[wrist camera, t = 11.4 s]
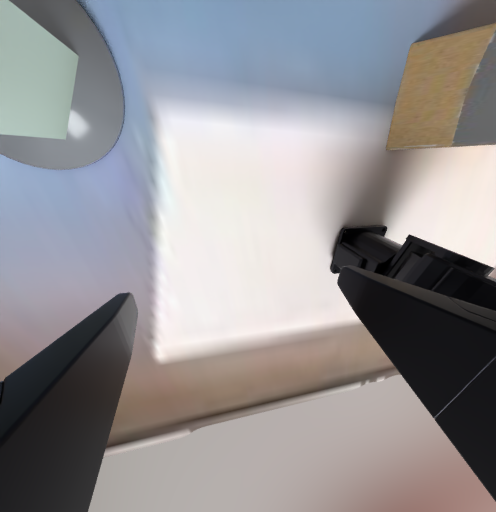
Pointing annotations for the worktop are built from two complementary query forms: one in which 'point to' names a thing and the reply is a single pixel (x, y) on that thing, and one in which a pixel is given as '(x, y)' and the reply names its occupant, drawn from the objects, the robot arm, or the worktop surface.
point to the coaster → (75, 93)
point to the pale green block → (33, 77)
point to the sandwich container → (447, 92)
